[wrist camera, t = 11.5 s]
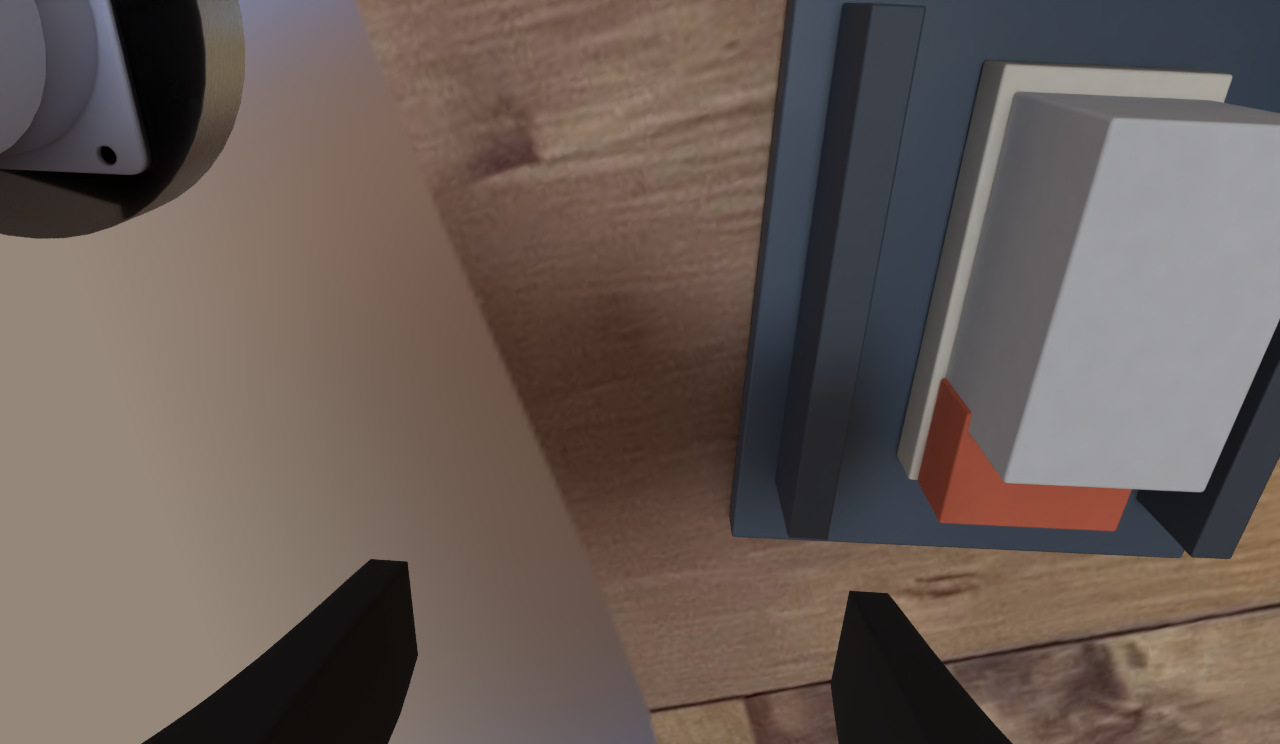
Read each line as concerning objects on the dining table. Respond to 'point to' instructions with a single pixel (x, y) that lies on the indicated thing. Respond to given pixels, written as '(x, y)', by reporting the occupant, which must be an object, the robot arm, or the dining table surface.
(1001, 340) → the white box
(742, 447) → the dark grey flat tray
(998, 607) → the dining table surface
